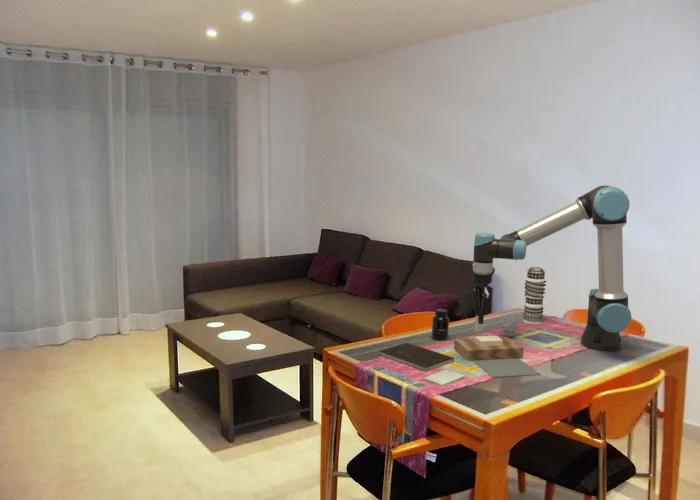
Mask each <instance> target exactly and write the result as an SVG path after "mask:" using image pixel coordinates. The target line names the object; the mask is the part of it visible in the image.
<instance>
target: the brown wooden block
mask: <svg viewBox="0 0 700 500" xmlns="http://www.w3.org/2000/svg"><path fill="white" fill-rule="evenodd" d="M498 337H499V338H500V339H502V340H503V345H501V346H481V347H480V346H479V345H478V344H477V343H475V342H474V338H454V344H453V347H454V350H455V351H456V352H457V353H458V354H459V355H460V356H461V357H463V359H465V360H466V361H467V362H474V361H483V360H496V359H498V360H502V359H523V358H524V347H523V346H522V345H520V344H518V343H517V342H515V341H514V340H513V339H511V337H507V336H498Z"/></svg>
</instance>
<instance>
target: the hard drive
mask: <svg viewBox="0 0 700 500" xmlns="http://www.w3.org/2000/svg"><path fill="white" fill-rule="evenodd" d="M463 378H465V379H466V377H465V375H464V374H461V373H458V372H455V371H452V370H450V369H444V370H441V371H439V372H436V373H433V374H430V375H427V376H426V377H423V378H422V381H423V380H425V381H424V382H426V381H428V382H432V383H434V384H437V385H439V386H444V385H447V384H449V385H451V384H450V383H452V382H454V381H457V380H460V379H462V380H464V379H463ZM460 381H461V380H460ZM428 382H427V383H428ZM457 382H458V381H457ZM454 383H455V382H454ZM434 384H433V385H434ZM452 384H453V383H452ZM439 386H438V387H439ZM447 386H448V385H447ZM444 387H445V386H444Z"/></svg>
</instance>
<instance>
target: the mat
mask: <svg viewBox="0 0 700 500" xmlns="http://www.w3.org/2000/svg"><path fill="white" fill-rule="evenodd" d="M473 362H474V363H475V365H477V366H478V368H480V367H481V368H482V369H481V368H480V369H481V370H483V372H484V373H486V372H487V373H488V374H489V375H490V376H491V378H492V377H493V378H508V377H509V378H510V377H521V376H522V377H526V376H541V373H539V372H538V370H536V369H534V368H532V366H530V365H528V364H527V363H526V362H525V361H523V360H522V359H521V358H517V359H498V360H480V361H473ZM487 373H486V374H487ZM488 374H487V375H488ZM489 375H488V376H489ZM490 376H489V377H490Z"/></svg>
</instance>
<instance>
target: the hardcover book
mask: <svg viewBox="0 0 700 500" xmlns="http://www.w3.org/2000/svg"><path fill="white" fill-rule="evenodd" d="M379 352H380V356H382V357H385V358H388V359H390V360H393V361H396V362H398V363H401V364H404V365H408V366H409V367H412V366H413V367H412V368H415V367H416V369H418V368H419V369H418V370H421V369H422V370H421V371H423V370H424V372H428V371H431V370H434V369H436V368H439V367H442V366H445V365H448V364H450V363H451V364H452V363H454V362H455V358H454V357H453V356H450V355H446V354H443V353H440V352H438V351H434V350H431V349H428V348H425V347H422V346H419V345H416V344H413V343H410V342H403V343H400V344H397V345H394V346H390V347H387V348H384V349H381V350H379ZM433 368H434V369H433ZM430 369H431V370H430ZM427 370H428V371H427Z"/></svg>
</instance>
